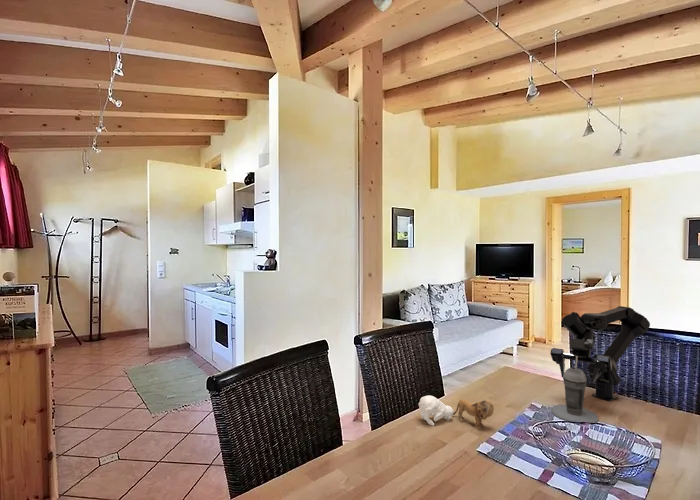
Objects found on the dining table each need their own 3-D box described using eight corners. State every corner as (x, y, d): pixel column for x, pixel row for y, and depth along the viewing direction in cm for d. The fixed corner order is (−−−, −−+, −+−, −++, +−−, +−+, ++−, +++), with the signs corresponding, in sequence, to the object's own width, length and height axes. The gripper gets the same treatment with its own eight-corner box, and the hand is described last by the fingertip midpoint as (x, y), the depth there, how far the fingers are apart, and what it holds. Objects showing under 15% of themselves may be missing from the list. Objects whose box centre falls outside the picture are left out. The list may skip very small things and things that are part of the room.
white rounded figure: (417, 392, 127) (448, 392, 131) (415, 418, 127) (446, 417, 131) (426, 400, 121) (459, 399, 125) (424, 426, 121) (456, 425, 125)
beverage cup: (579, 408, 134) (580, 352, 134) (591, 418, 127) (591, 358, 127) (558, 408, 135) (559, 352, 135) (568, 417, 128) (569, 357, 128)
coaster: (566, 404, 141) (566, 401, 141) (606, 418, 128) (606, 416, 128) (542, 411, 134) (542, 409, 134) (583, 428, 122) (583, 425, 122)
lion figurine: (496, 427, 122) (496, 399, 121) (489, 433, 118) (489, 404, 118) (454, 413, 132) (455, 388, 132) (447, 418, 128) (447, 392, 128)
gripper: (551, 326, 144) (543, 362, 135) (611, 333, 132) (606, 373, 123) (556, 343, 150) (549, 378, 141) (613, 351, 138) (609, 390, 129)
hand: (577, 379), depth 134 cm, fingers open, 9 cm apart
